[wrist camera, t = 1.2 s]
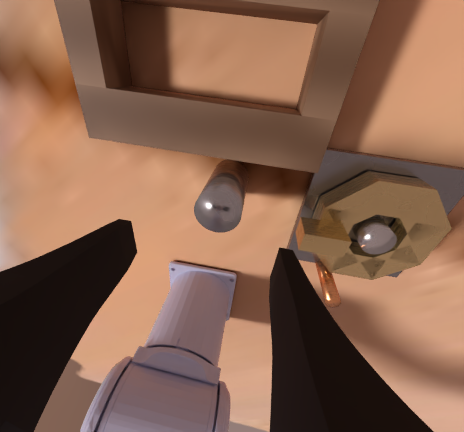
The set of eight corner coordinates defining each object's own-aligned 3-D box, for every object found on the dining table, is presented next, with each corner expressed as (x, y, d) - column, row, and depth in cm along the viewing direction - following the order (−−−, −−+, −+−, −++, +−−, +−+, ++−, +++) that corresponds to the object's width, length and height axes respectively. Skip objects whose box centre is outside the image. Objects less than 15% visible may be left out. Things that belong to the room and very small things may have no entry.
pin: (245, 194, 19) (238, 235, 14) (213, 189, 19) (193, 228, 14) (251, 162, 17) (244, 196, 12) (215, 156, 18) (194, 187, 13)
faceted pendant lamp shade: (392, 270, 20) (416, 307, 17) (282, 250, 21) (285, 283, 18) (458, 184, 15) (511, 214, 12) (312, 162, 16) (323, 184, 13)
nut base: (390, 276, 22) (419, 323, 18) (283, 257, 22) (286, 298, 18) (474, 169, 15) (550, 204, 11) (321, 146, 16) (339, 171, 12)
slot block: (310, 158, 17) (317, 173, 14) (114, 128, 18) (89, 137, 15) (380, -59, 10) (415, -102, 8) (73, -88, 11) (19, -133, 9)
